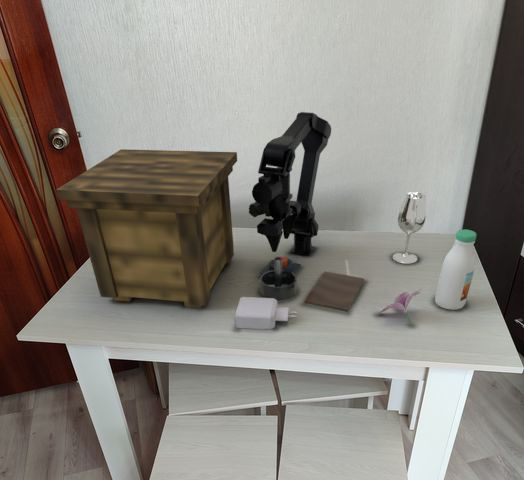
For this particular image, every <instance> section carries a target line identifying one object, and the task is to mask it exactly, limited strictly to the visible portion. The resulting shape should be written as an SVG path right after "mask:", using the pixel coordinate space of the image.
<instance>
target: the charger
mask: <svg viewBox="0 0 524 480" xmlns="http://www.w3.org/2000/svg"><path fill="white" fill-rule="evenodd" d="M296 314H298V311H290V307H281V306H278V300H276V299H274V298H266V297H254V296H253V297H252V296H241V297H240V298H239V301H238V305H237V308H236V310H235V315H234V316H235V317H234V318H235V328H236V329H254V330H272V329H274V328H276V322H288V321H289V318H297V315H296Z"/></svg>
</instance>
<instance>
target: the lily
mask: <svg viewBox="0 0 524 480" xmlns="http://www.w3.org/2000/svg"><path fill="white" fill-rule="evenodd" d="M421 290H422V288H420V289H418V290H416V291H414V292H412V293H411V294H409V292H408V291H403V292H401V293H399V294H398V295H397V296H396V297H395V298H394V300H393V303H391V304H389V305H386V306H385V307H383V308H382V310H381V311H379V312H378V313H377V315H380V314H382V313H383V312H385V311H388V310H389V309H393V310H399V311H404V312H405V314H406V316H407V320H408V322H409V325H410V326H412V322H411V319H410V316H409V313H408V310H407V309H408V306H409V304H410V302H411V300H412V298H413V297H415V296H417V295H419V294H421V292H420V291H421Z"/></svg>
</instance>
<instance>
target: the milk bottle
mask: <svg viewBox="0 0 524 480" xmlns="http://www.w3.org/2000/svg"><path fill="white" fill-rule="evenodd" d="M454 238H455V239H454V241H455V242H454V244H453V246H452V248H451V249H450V250H449V252H448V253H447V254H446V256H445V258H444V259H443V263H442V266H441V270H440V275H439V278H438V283H437V287H436V293H435V297H434V301H435V304H436V305H437V306H438V307H440V308H442V309H446V310H451V311H455V310H461V309H462V308H463V307H464V306H465V305H466V302H467V298H468V295H469V292H470V288H471V284H472V280H473V276H474V274H475V273H474V272H475V269H476V268H475V267H476V257H475V253H474V244H475V243H476V239H477V233H476V232H475V231H473V230H470V229H459V230H457V232H456V234H455V237H454Z"/></svg>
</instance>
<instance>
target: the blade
mask: <svg viewBox="0 0 524 480" xmlns="http://www.w3.org/2000/svg"><path fill="white" fill-rule="evenodd" d="M273 259H274V280H275V284H273V285H269V286H273V287H283V286H287V285H284V284H282V258H281V257H278V256H275V257H274V258H273Z"/></svg>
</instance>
